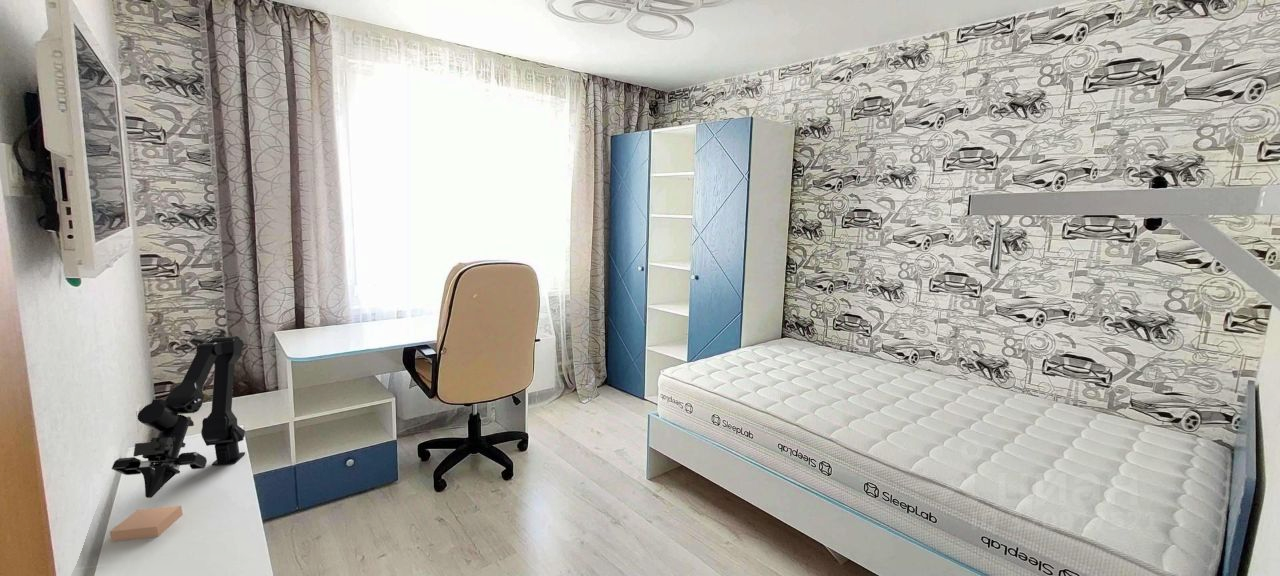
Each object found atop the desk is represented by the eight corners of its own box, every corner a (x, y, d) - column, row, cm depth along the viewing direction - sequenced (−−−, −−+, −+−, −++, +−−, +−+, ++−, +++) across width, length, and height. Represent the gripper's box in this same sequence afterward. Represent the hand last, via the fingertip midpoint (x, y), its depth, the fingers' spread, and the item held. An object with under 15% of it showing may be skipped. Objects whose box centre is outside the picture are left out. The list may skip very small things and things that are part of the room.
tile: (137, 509, 137) (109, 531, 129) (181, 505, 139) (156, 526, 130) (139, 520, 138) (112, 542, 129) (183, 515, 140) (158, 537, 131)
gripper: (109, 429, 135) (82, 493, 127) (192, 423, 138) (171, 485, 130) (138, 444, 144) (114, 504, 136) (215, 438, 147) (196, 496, 139)
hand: (148, 497), depth 135 cm, fingers closed
